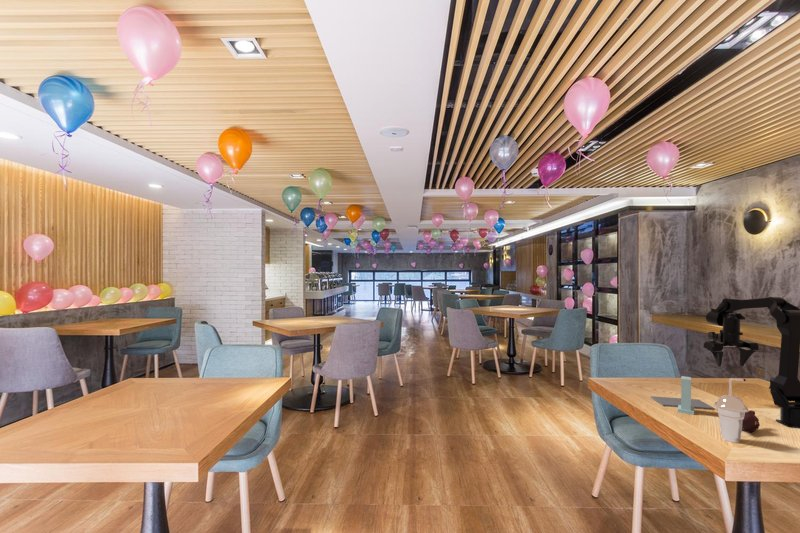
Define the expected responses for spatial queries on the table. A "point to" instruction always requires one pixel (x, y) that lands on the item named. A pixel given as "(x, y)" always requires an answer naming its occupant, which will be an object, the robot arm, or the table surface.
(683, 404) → the number stand
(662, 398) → the mat
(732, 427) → the cup with straw
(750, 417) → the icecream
